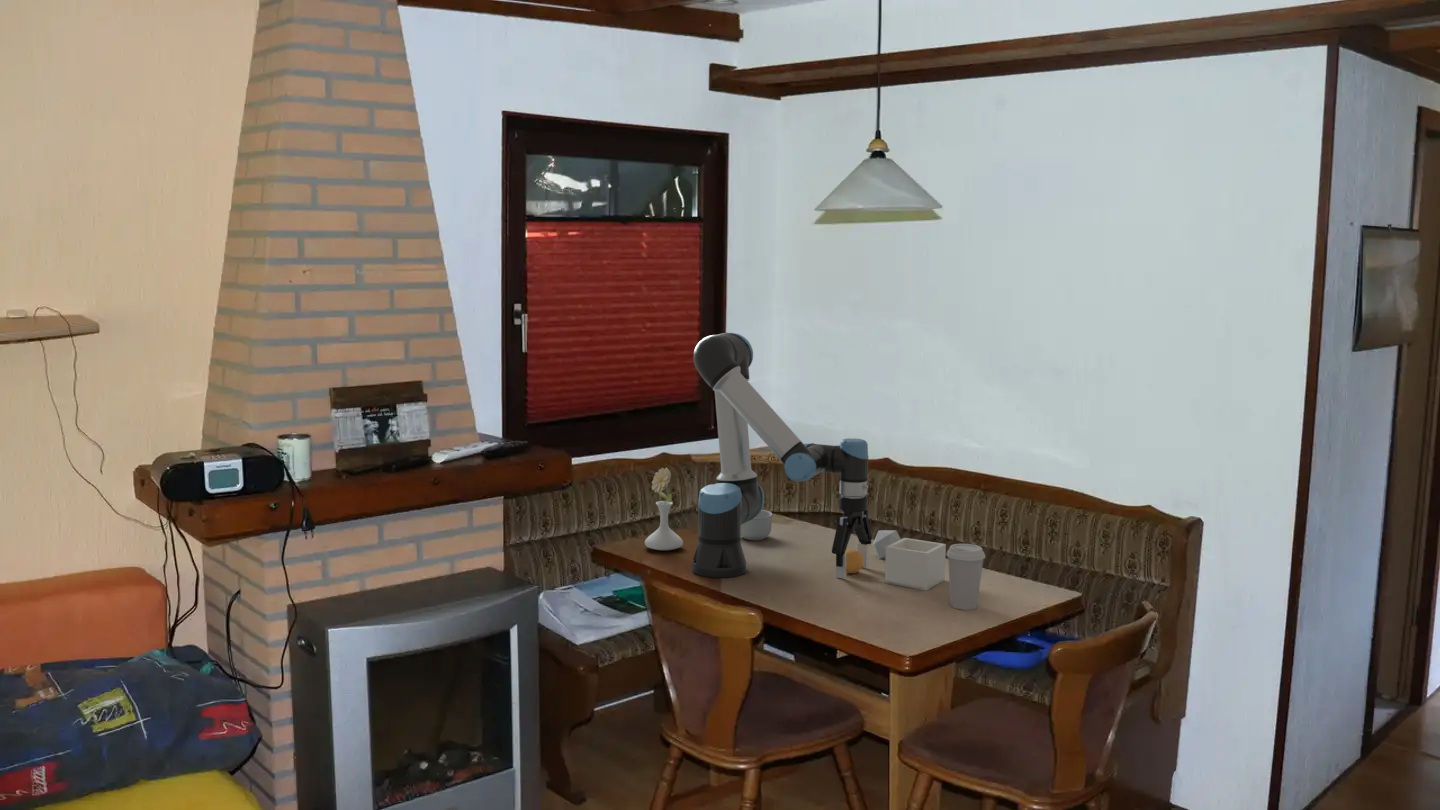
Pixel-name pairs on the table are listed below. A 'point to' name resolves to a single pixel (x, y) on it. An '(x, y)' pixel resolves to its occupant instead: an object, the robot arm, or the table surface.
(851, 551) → the ball
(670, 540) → the flower in vase
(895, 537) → the die
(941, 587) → the table surface
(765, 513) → the teacup
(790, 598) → the table surface
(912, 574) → the white open box
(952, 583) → the coffee cup
